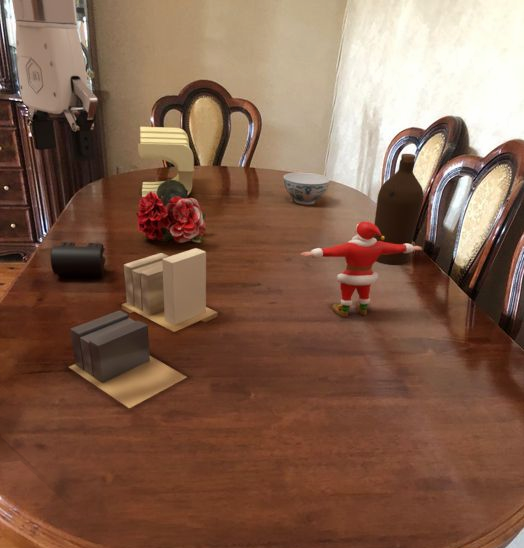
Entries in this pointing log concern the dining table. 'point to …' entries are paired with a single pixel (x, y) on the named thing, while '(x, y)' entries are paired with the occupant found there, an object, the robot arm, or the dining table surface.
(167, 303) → the cream book
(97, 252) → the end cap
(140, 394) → the grey book stand
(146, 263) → the cream book stand
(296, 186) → the chinaware
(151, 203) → the carnation
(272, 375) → the dining table surface
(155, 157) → the slatted curved stool
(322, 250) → the santa figurine
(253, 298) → the dining table surface
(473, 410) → the dining table surface
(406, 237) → the olive oil
